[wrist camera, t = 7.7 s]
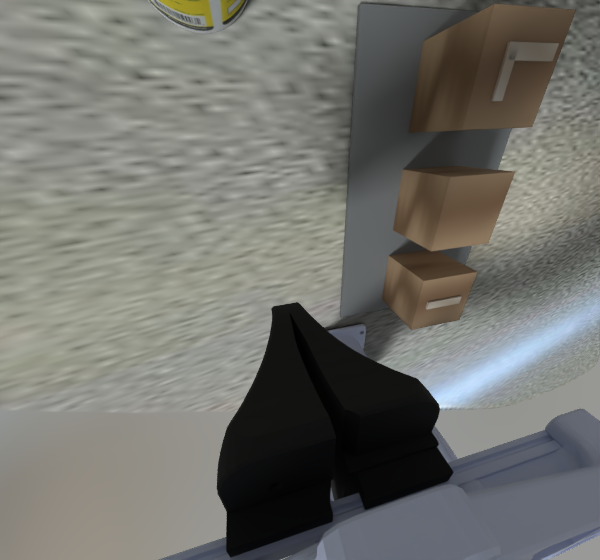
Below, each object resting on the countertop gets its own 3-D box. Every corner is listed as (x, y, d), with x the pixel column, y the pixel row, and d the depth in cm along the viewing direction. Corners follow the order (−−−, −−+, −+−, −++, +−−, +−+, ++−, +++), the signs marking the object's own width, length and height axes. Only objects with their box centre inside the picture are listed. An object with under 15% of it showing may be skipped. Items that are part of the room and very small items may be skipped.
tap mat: (452, 294, 28) (454, 296, 28) (339, 315, 26) (341, 317, 25) (545, 18, 17) (550, 16, 16) (358, 6, 14) (360, 3, 14)
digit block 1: (424, 291, 26) (461, 320, 22) (381, 298, 26) (412, 331, 21) (435, 248, 24) (480, 272, 20) (388, 255, 23) (425, 281, 19)
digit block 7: (466, 130, 19) (536, 126, 15) (408, 132, 18) (464, 129, 14) (489, 44, 16) (582, 8, 12) (423, 41, 15) (497, 1, 11)
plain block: (440, 224, 23) (488, 243, 18) (392, 230, 22) (431, 251, 18) (456, 165, 20) (515, 171, 16) (402, 169, 19) (450, 177, 15)
